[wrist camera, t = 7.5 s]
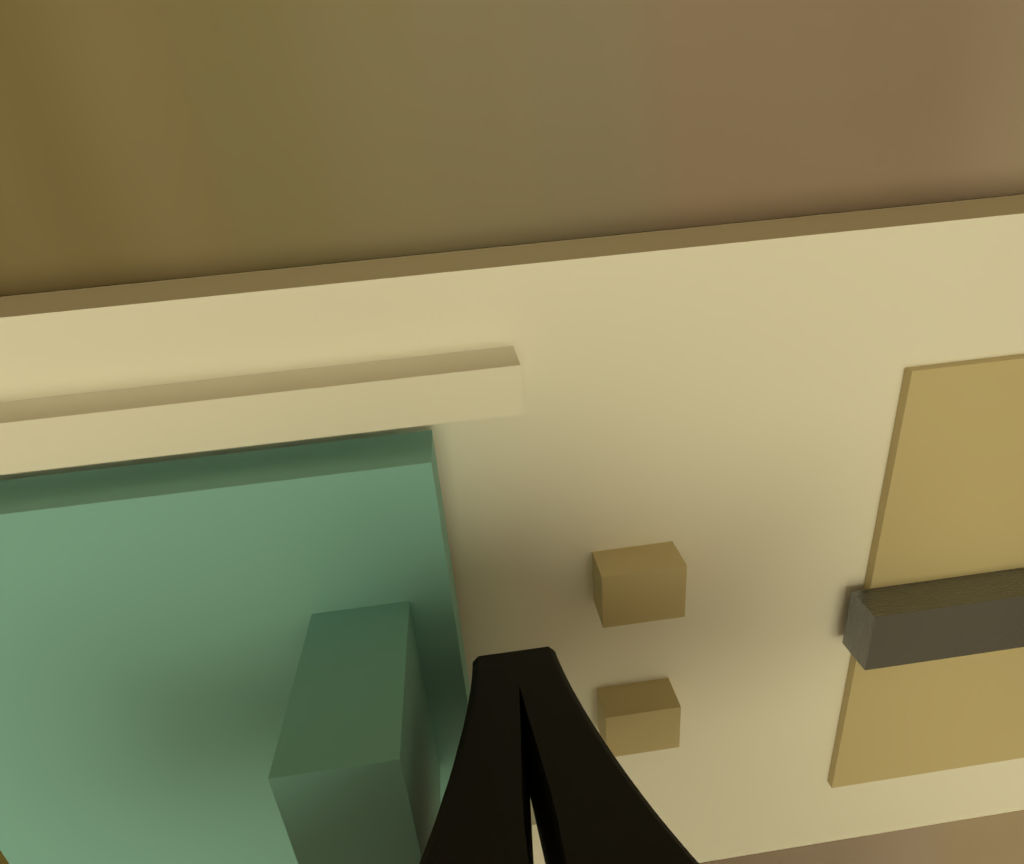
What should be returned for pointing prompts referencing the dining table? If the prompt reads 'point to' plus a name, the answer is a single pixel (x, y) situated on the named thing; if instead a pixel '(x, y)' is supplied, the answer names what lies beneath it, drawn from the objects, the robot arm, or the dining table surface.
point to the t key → (936, 619)
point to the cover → (230, 658)
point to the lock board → (640, 475)
